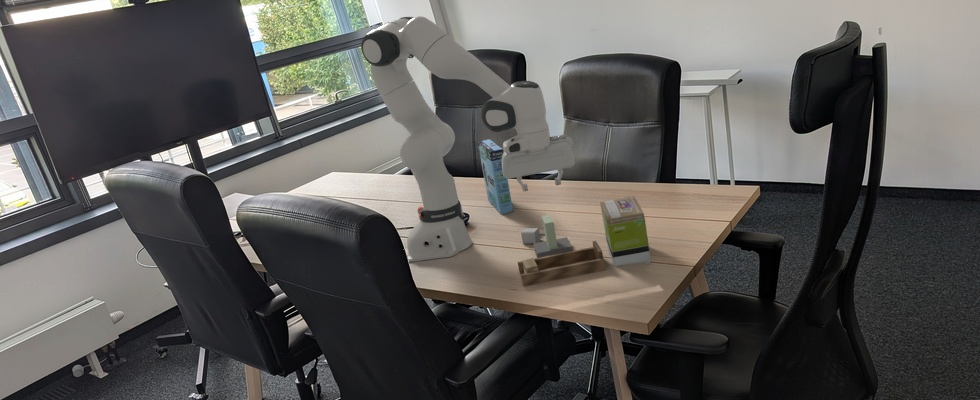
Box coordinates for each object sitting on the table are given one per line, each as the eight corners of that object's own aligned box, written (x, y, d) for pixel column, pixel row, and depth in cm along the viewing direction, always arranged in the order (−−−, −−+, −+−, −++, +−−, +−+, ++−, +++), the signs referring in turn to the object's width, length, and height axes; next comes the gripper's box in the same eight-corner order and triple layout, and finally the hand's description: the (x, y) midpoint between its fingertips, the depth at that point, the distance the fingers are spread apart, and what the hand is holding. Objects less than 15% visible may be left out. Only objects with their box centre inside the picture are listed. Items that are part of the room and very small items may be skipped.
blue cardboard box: (488, 201, 277) (476, 141, 271) (501, 197, 278) (490, 138, 271) (500, 215, 259) (488, 151, 252) (514, 211, 260) (503, 148, 253)
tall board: (549, 249, 211) (544, 223, 209) (546, 242, 217) (541, 216, 215) (557, 248, 211) (553, 221, 209) (554, 240, 217) (549, 214, 215)
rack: (523, 289, 196) (520, 268, 194) (520, 275, 205) (516, 255, 204) (606, 273, 196) (602, 252, 194) (598, 259, 205) (595, 239, 204)
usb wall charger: (528, 239, 231) (526, 227, 230) (548, 239, 228) (546, 227, 226) (523, 244, 228) (520, 232, 226) (544, 244, 224) (541, 232, 223)
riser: (538, 263, 211) (536, 253, 210) (535, 253, 219) (533, 243, 218) (573, 256, 211) (571, 246, 210) (568, 246, 219) (566, 237, 218)
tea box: (606, 250, 211) (599, 200, 207) (642, 244, 210) (635, 194, 206) (614, 270, 197) (606, 218, 193) (652, 264, 196) (645, 211, 192)
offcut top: (527, 275, 197) (526, 268, 196) (523, 267, 202) (522, 260, 202) (538, 272, 197) (537, 265, 196) (534, 264, 203) (533, 258, 202)
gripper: (569, 130, 208) (576, 177, 212) (497, 144, 208) (505, 191, 212) (573, 135, 202) (580, 183, 206) (499, 149, 202) (507, 197, 206)
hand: (541, 187), depth 209 cm, fingers open, 8 cm apart
